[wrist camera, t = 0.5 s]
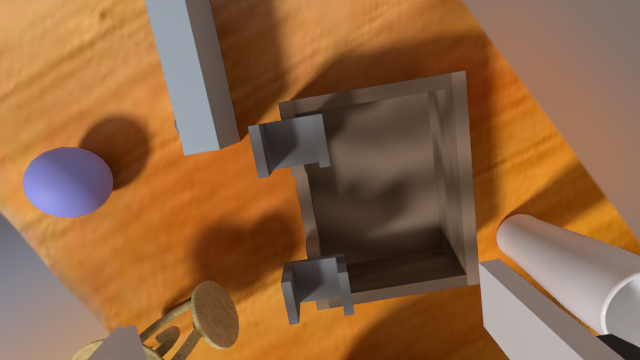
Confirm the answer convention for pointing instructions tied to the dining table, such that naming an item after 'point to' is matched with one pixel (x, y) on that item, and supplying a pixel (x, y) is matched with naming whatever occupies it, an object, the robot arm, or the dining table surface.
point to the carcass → (377, 191)
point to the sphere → (68, 182)
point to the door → (194, 73)
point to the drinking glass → (578, 273)
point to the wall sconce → (209, 322)
